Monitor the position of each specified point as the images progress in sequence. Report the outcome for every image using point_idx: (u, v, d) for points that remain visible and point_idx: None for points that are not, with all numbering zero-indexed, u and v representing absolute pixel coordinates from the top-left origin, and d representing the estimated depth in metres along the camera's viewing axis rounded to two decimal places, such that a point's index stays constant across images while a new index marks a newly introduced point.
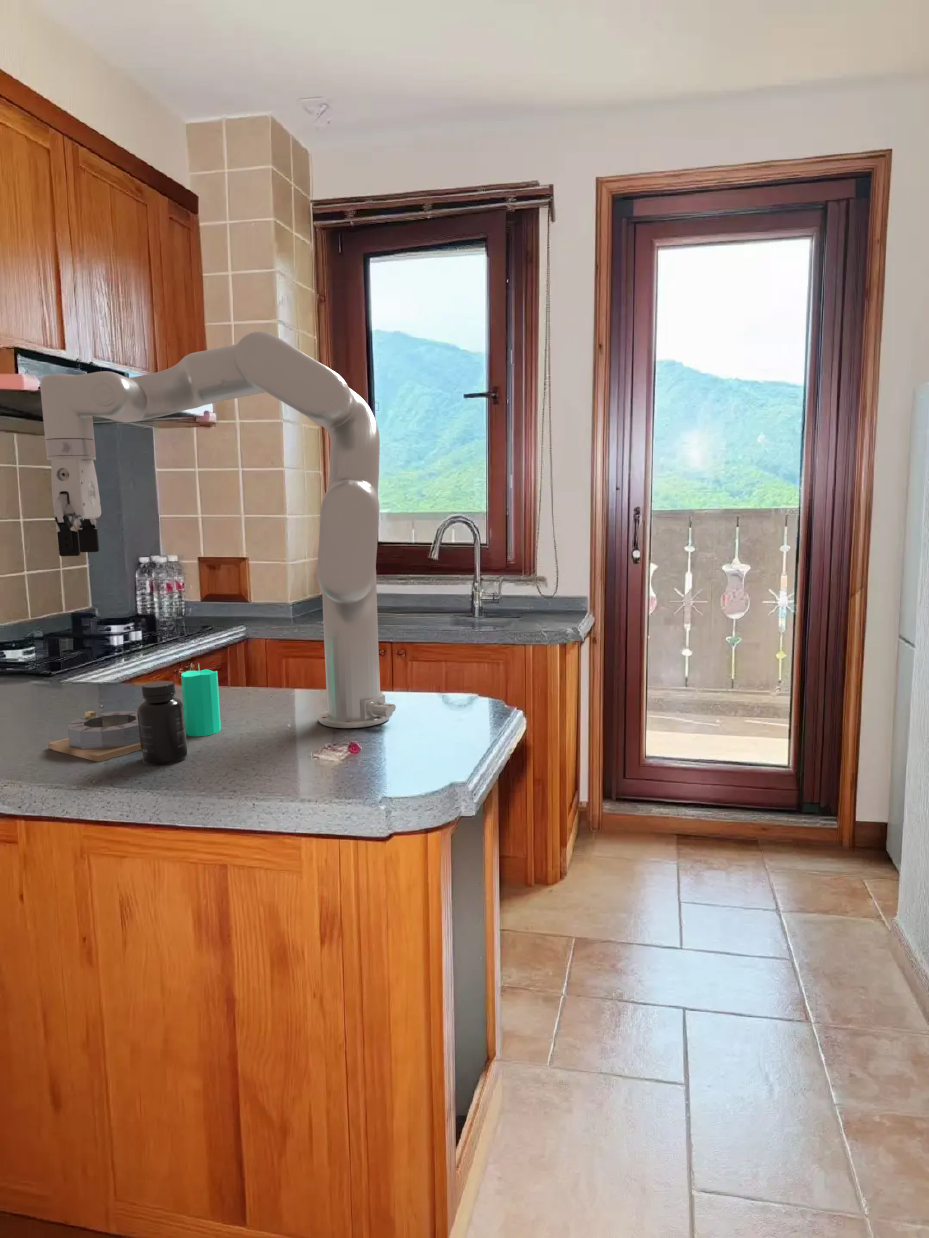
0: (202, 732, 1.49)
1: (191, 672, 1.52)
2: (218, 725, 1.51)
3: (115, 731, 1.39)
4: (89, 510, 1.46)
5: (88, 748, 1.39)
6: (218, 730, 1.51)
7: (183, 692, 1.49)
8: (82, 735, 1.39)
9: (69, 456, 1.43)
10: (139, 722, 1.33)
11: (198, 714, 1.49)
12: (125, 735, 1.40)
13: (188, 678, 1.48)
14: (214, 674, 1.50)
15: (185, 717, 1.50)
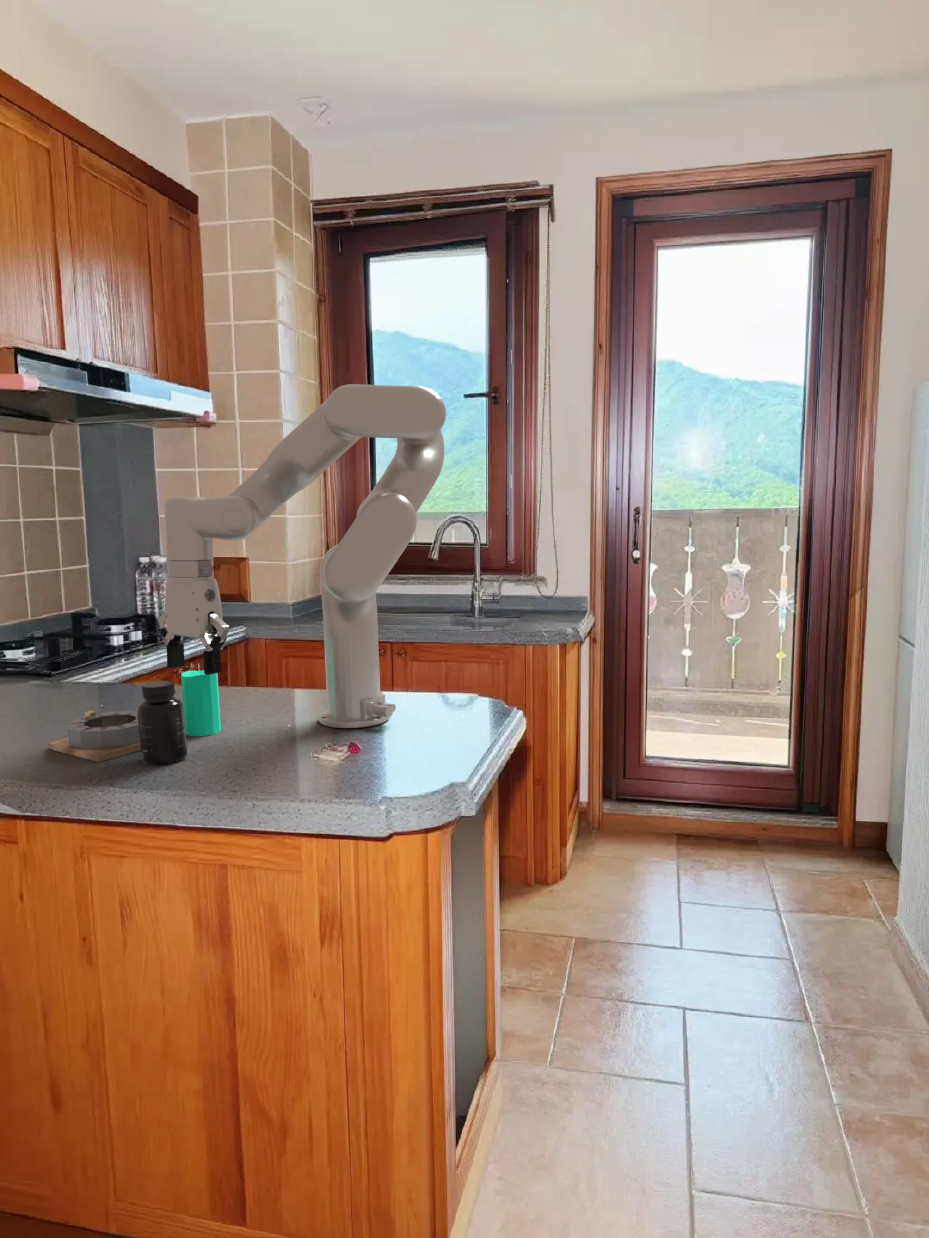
0: (202, 732, 1.49)
1: (191, 672, 1.52)
2: (218, 725, 1.51)
3: (115, 731, 1.39)
4: None
5: (88, 748, 1.39)
6: (218, 730, 1.51)
7: (183, 692, 1.49)
8: (82, 735, 1.39)
9: (208, 577, 1.47)
10: (139, 722, 1.33)
11: (198, 714, 1.49)
12: (125, 735, 1.40)
13: (188, 678, 1.48)
14: (214, 674, 1.50)
15: (185, 717, 1.50)
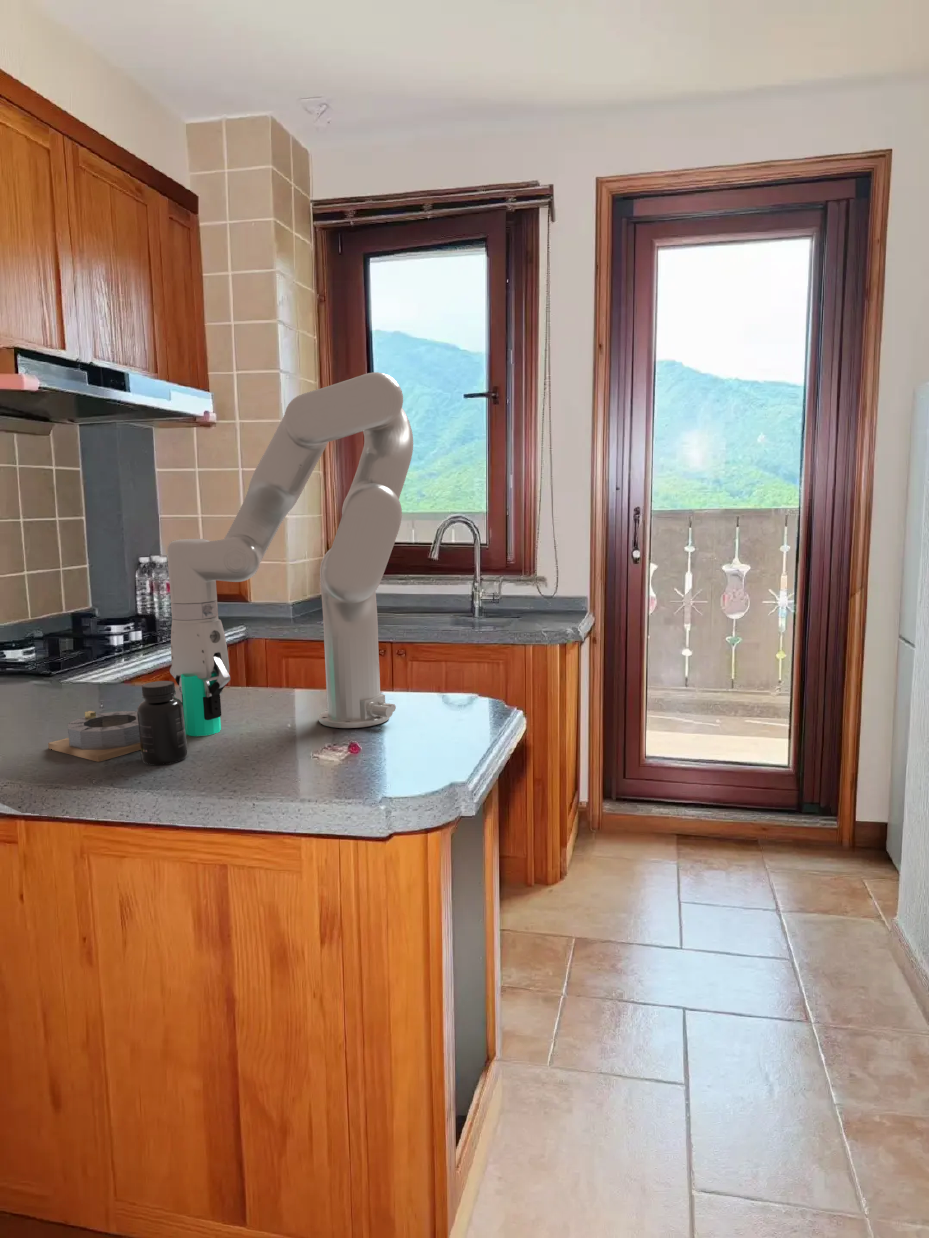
0: (202, 732, 1.49)
1: None
2: (218, 725, 1.51)
3: (115, 731, 1.39)
4: None
5: (88, 748, 1.39)
6: (218, 730, 1.51)
7: (183, 692, 1.49)
8: (82, 735, 1.39)
9: (213, 618, 1.48)
10: (139, 722, 1.33)
11: (198, 714, 1.49)
12: (125, 735, 1.40)
13: (188, 678, 1.48)
14: (214, 674, 1.50)
15: (185, 717, 1.50)
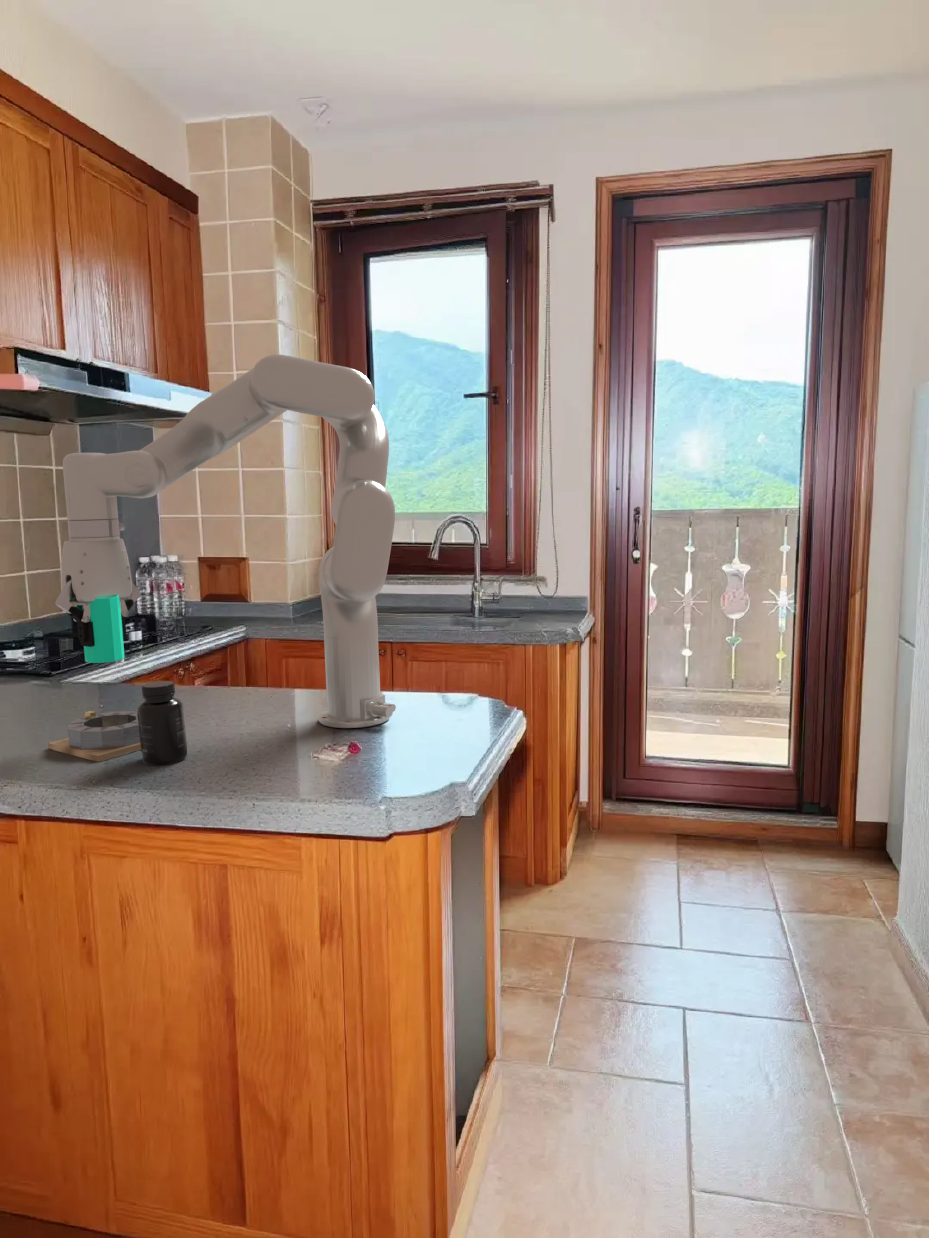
0: (123, 654, 1.44)
1: None
2: None
3: (115, 731, 1.39)
4: None
5: (88, 748, 1.39)
6: None
7: (105, 616, 1.40)
8: (82, 735, 1.39)
9: None
10: (139, 722, 1.33)
11: (121, 635, 1.43)
12: (125, 735, 1.40)
13: (114, 599, 1.41)
14: None
15: (108, 643, 1.41)
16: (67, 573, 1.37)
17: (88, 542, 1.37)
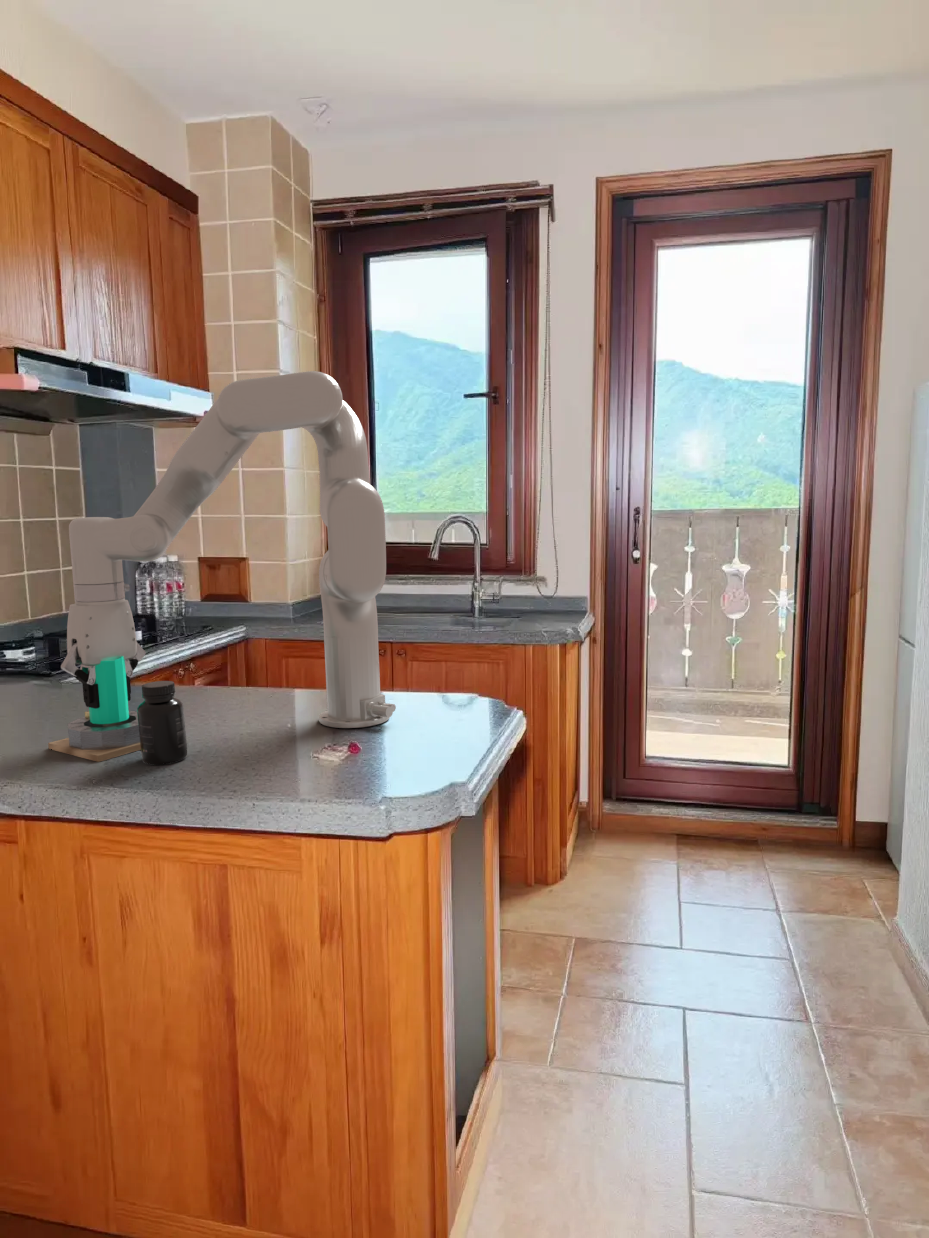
0: (128, 714, 1.45)
1: None
2: None
3: (115, 731, 1.39)
4: None
5: (88, 748, 1.39)
6: None
7: (110, 678, 1.41)
8: (82, 735, 1.39)
9: None
10: (139, 722, 1.33)
11: (126, 696, 1.44)
12: (125, 735, 1.40)
13: (119, 660, 1.42)
14: None
15: (112, 704, 1.42)
16: (73, 636, 1.39)
17: (94, 606, 1.39)
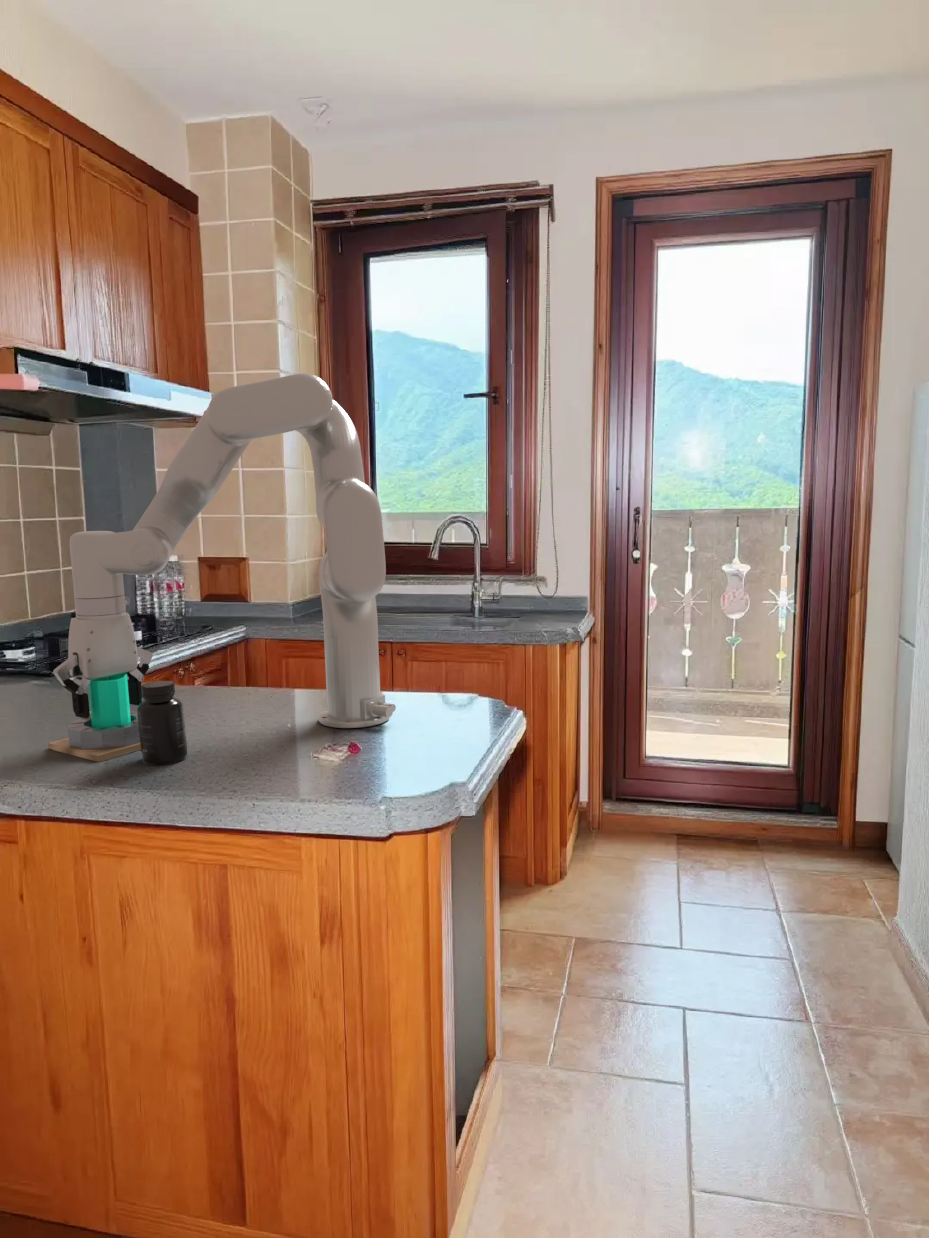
0: None
1: None
2: None
3: (115, 731, 1.39)
4: None
5: (88, 748, 1.39)
6: None
7: (112, 698, 1.42)
8: (82, 735, 1.39)
9: None
10: (139, 722, 1.33)
11: (129, 714, 1.45)
12: (125, 735, 1.40)
13: (121, 680, 1.43)
14: None
15: (115, 724, 1.42)
16: (74, 650, 1.39)
17: (95, 620, 1.39)
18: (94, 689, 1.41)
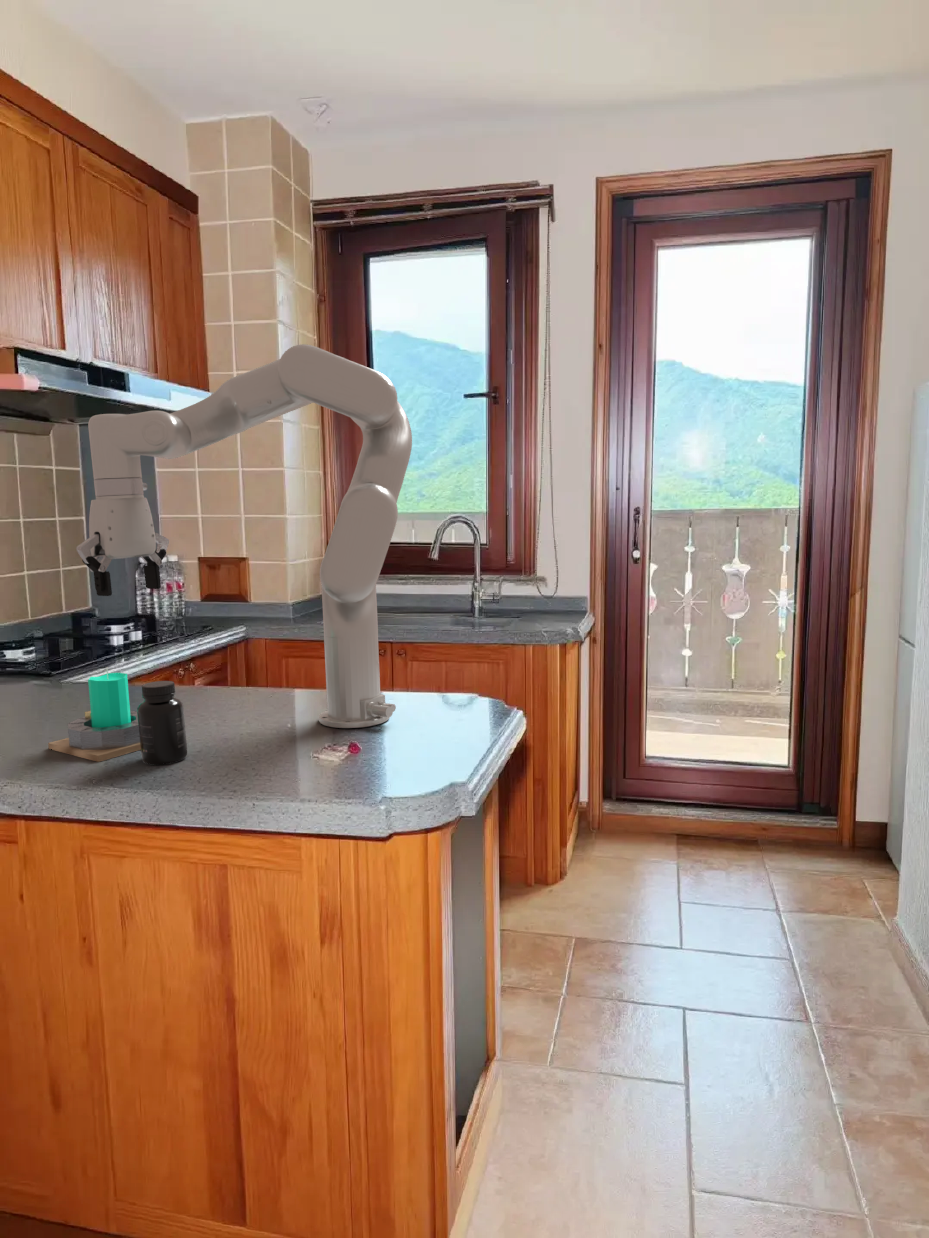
0: None
1: None
2: None
3: (115, 731, 1.39)
4: None
5: (88, 748, 1.39)
6: None
7: (113, 698, 1.42)
8: (82, 735, 1.39)
9: None
10: (139, 722, 1.33)
11: (129, 715, 1.45)
12: (125, 735, 1.40)
13: (121, 680, 1.43)
14: None
15: (115, 724, 1.42)
16: (95, 530, 1.43)
17: (115, 500, 1.43)
18: (94, 689, 1.41)
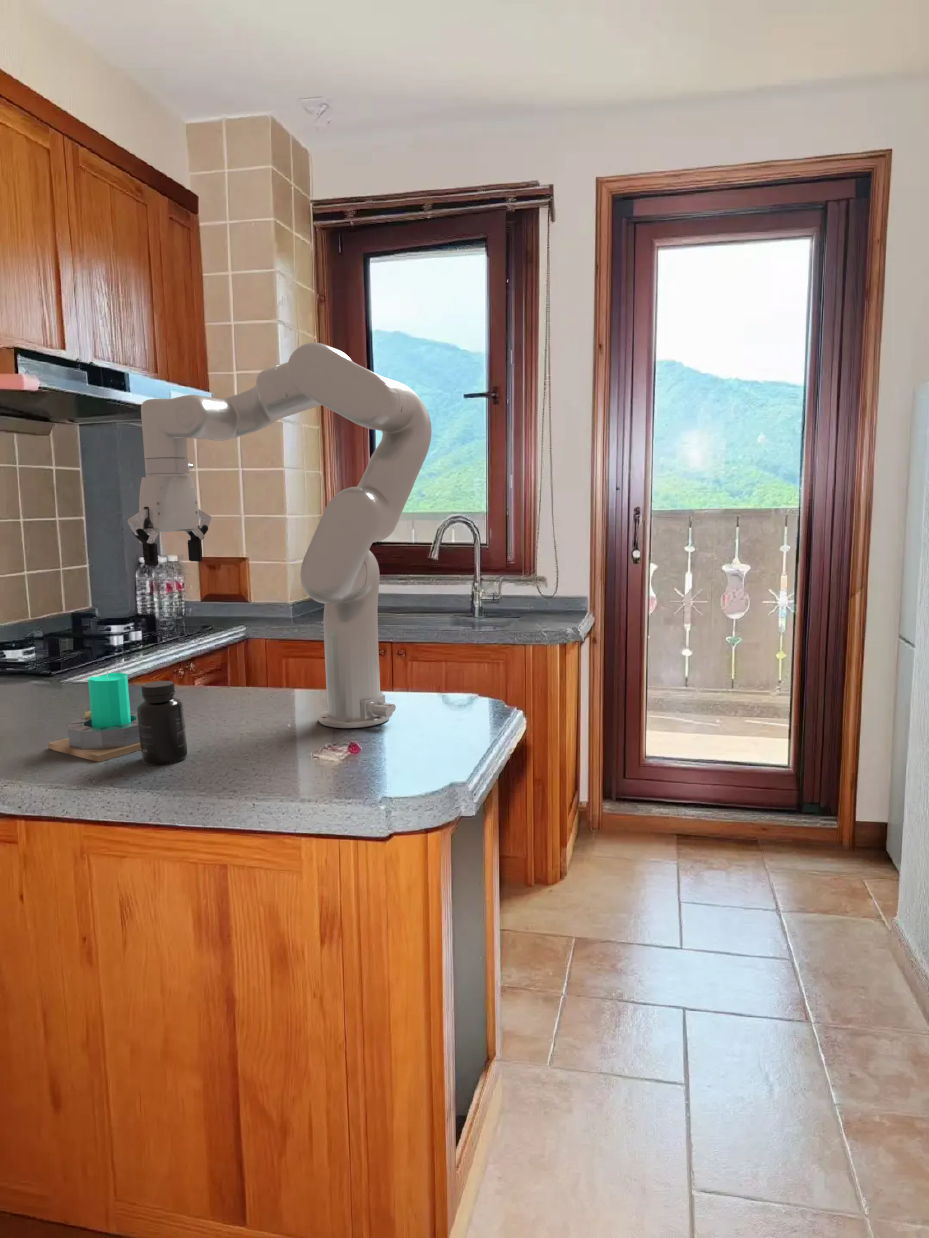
0: None
1: None
2: None
3: (115, 731, 1.39)
4: None
5: (88, 748, 1.39)
6: None
7: (113, 698, 1.42)
8: (82, 735, 1.39)
9: None
10: (139, 722, 1.33)
11: (129, 715, 1.45)
12: (125, 735, 1.40)
13: (121, 680, 1.43)
14: None
15: (115, 724, 1.42)
16: (145, 505, 1.56)
17: (163, 477, 1.56)
18: (94, 689, 1.41)
